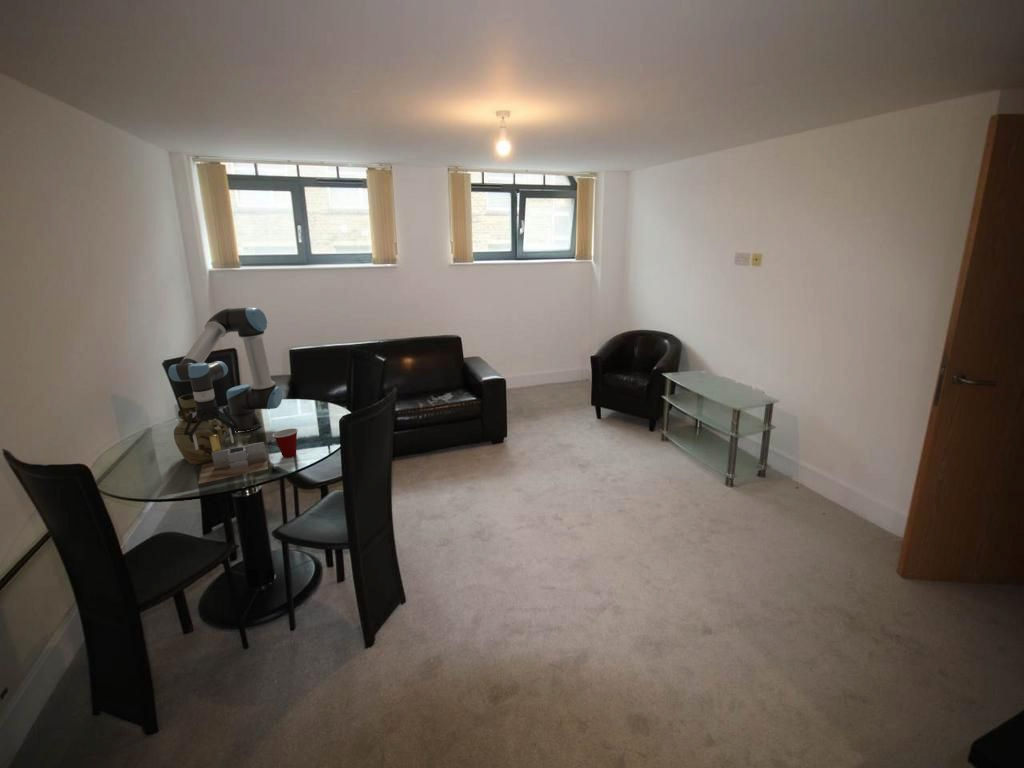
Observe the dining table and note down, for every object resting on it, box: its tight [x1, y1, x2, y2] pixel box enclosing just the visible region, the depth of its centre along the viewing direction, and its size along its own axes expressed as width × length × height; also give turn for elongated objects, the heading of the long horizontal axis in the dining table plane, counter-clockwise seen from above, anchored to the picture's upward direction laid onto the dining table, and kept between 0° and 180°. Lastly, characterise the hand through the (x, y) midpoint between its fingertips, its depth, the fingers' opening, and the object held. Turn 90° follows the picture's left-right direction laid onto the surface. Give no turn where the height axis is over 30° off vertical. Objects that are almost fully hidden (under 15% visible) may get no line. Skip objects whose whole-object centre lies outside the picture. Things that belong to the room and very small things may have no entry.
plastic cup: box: [271, 427, 298, 459], centre depth 225 cm, size 11×11×12 cm
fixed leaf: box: [230, 441, 268, 471], centre depth 215 cm, size 7×14×8 cm, turn 118°
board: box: [197, 451, 269, 485], centre depth 214 cm, size 20×26×1 cm
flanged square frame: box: [211, 445, 248, 469], centre depth 212 cm, size 7×13×8 cm, turn 118°
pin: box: [209, 434, 221, 452], centre depth 215 cm, size 3×3×14 cm
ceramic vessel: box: [173, 393, 229, 465], centre depth 223 cm, size 19×21×30 cm
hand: (215, 445), depth 214 cm, fingers open, 13 cm apart
